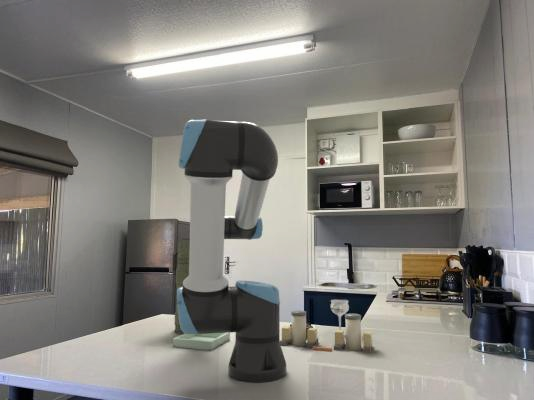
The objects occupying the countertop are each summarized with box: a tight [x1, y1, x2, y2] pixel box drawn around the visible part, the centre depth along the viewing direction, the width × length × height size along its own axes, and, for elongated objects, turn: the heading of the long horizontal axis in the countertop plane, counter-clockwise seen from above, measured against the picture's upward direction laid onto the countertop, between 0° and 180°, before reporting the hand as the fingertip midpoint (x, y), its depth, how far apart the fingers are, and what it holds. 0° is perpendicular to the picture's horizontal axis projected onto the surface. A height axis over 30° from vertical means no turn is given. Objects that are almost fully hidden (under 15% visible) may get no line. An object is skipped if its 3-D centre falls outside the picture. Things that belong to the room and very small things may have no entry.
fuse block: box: [280, 325, 373, 354], centre depth 129 cm, size 10×29×5 cm, turn 71°
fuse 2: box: [344, 313, 362, 351], centre depth 127 cm, size 5×5×10 cm
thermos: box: [172, 238, 190, 334], centre depth 154 cm, size 9×12×35 cm
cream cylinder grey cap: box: [290, 309, 307, 346], centre depth 133 cm, size 5×5×10 cm
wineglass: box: [330, 299, 350, 336], centre depth 147 cm, size 7×7×12 cm
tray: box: [172, 332, 231, 351], centre depth 133 cm, size 14×14×2 cm
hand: (202, 325), depth 134 cm, fingers closed on supplement bottle, 5 cm apart
